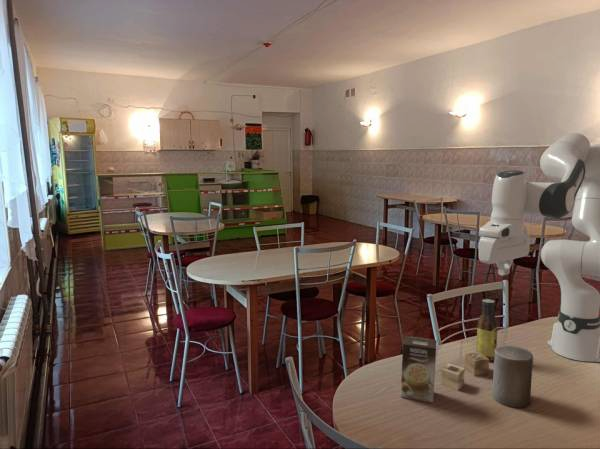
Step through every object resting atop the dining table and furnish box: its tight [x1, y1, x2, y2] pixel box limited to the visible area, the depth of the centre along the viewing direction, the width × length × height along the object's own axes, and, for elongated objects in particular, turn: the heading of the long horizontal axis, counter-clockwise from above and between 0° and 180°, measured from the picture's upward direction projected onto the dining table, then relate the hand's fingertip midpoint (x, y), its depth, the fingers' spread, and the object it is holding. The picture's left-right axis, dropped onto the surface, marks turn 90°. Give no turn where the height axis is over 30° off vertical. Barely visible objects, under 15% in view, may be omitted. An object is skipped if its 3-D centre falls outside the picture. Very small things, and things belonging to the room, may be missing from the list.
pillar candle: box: [492, 344, 534, 409], centre depth 121 cm, size 10×10×15 cm
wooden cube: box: [464, 352, 490, 377], centre depth 138 cm, size 5×5×5 cm
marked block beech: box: [440, 363, 466, 392], centre depth 130 cm, size 5×5×5 cm
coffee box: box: [399, 334, 437, 403], centre depth 124 cm, size 9×6×16 cm
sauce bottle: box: [475, 298, 499, 362], centre depth 146 cm, size 6×6×20 cm
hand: (503, 274), depth 127 cm, fingers closed
